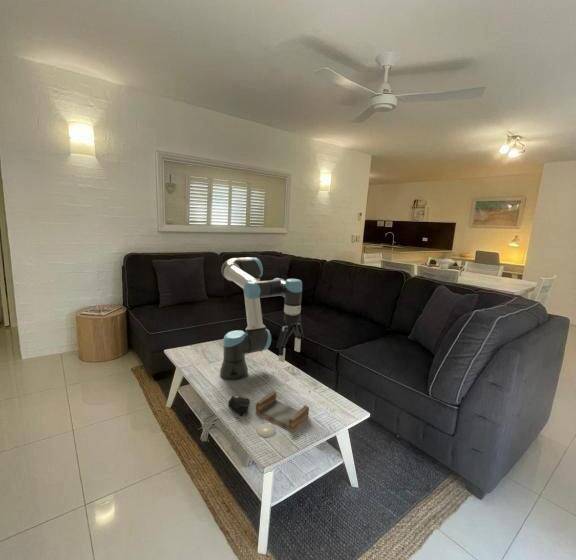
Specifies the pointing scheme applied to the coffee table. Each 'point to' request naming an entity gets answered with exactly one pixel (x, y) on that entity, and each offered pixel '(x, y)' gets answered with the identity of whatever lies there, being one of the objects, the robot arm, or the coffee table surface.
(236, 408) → the mineral
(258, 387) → the coffee table surface
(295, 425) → the rest
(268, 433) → the cream glossy rounded part
